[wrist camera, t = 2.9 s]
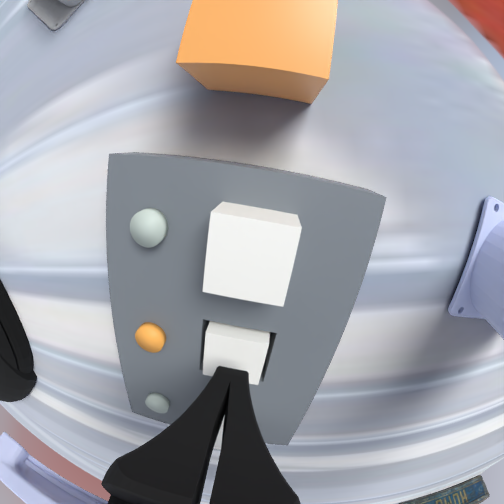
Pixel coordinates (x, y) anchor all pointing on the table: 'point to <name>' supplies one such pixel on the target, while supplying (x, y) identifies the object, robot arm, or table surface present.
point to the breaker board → (194, 308)
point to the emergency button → (54, 11)
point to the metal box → (457, 494)
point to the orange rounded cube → (260, 46)
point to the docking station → (13, 354)
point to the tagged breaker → (235, 349)
